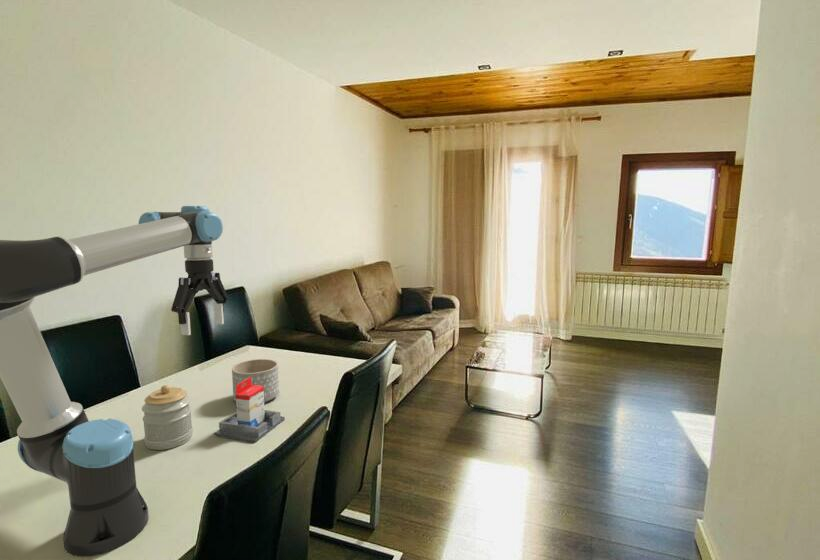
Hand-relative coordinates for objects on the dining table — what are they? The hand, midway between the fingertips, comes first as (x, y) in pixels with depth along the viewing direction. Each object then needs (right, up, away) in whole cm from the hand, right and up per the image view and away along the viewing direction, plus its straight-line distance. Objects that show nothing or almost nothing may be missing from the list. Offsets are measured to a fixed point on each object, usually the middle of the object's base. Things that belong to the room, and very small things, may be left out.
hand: (203, 329), depth 129 cm
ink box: (+10, -33, +11) cm, 36 cm away
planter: (+4, -31, +35) cm, 46 cm away
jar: (-12, -35, +3) cm, 37 cm away
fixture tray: (+10, -34, +11) cm, 37 cm away
